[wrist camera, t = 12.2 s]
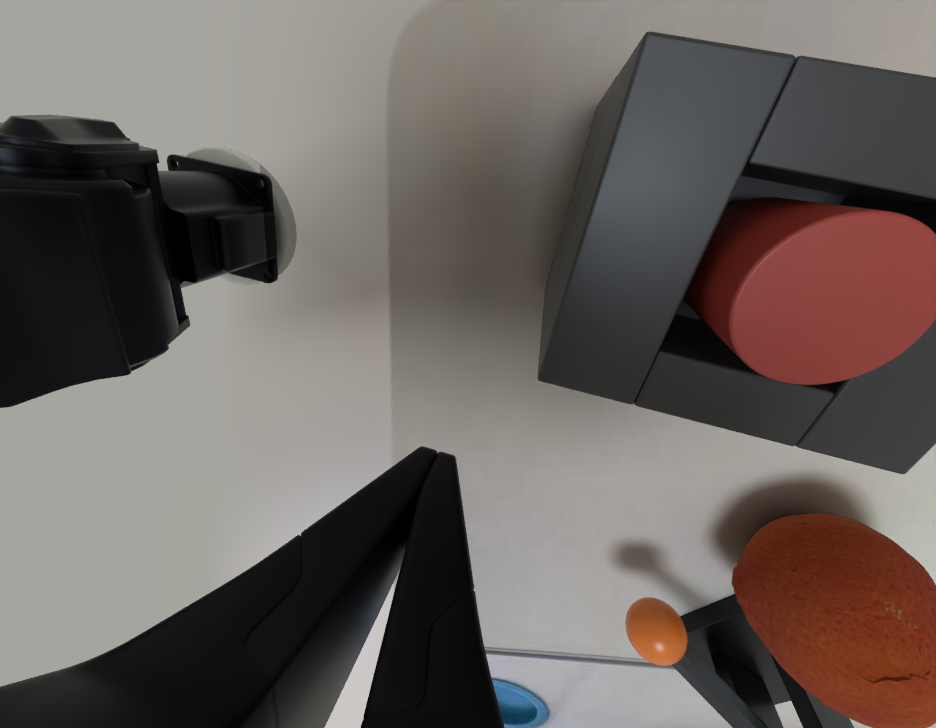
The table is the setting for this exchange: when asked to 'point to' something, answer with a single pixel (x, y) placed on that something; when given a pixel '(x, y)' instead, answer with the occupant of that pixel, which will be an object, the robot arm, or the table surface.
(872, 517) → the table surface
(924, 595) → the fruit
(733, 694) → the lever
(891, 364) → the box
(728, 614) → the switch bracket
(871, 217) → the stop button
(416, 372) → the table surface
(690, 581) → the table surface
